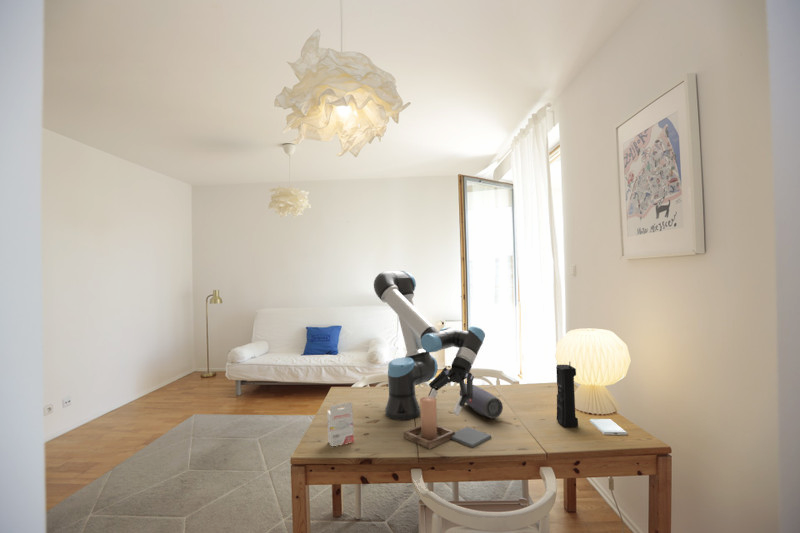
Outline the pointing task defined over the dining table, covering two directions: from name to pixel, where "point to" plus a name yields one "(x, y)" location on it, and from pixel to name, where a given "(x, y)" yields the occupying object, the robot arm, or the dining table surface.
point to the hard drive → (608, 427)
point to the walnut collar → (429, 444)
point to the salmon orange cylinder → (428, 418)
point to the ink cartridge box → (340, 424)
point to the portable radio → (566, 396)
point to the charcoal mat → (470, 436)
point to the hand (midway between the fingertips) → (441, 409)
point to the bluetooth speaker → (484, 403)
